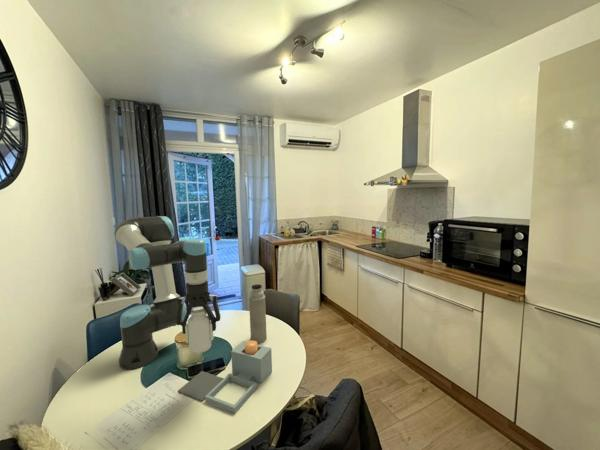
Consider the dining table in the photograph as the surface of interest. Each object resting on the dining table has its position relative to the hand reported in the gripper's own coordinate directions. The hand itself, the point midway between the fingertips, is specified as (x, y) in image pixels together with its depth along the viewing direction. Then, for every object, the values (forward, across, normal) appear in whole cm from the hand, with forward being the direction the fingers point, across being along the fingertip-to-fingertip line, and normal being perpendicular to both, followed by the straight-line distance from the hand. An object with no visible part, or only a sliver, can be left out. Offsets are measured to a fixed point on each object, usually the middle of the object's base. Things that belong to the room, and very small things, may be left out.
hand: (200, 339), depth 99 cm
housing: (+18, +14, -3) cm, 24 cm away
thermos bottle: (+19, +22, +29) cm, 41 cm away
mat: (+19, 0, 0) cm, 19 cm away
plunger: (+13, +19, +3) cm, 23 cm away
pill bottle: (+3, 0, 0) cm, 3 cm away
